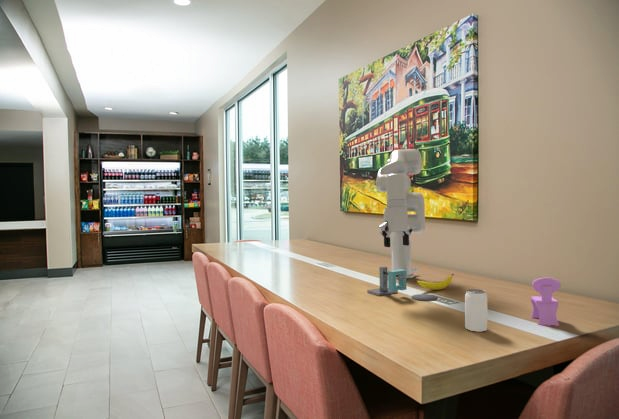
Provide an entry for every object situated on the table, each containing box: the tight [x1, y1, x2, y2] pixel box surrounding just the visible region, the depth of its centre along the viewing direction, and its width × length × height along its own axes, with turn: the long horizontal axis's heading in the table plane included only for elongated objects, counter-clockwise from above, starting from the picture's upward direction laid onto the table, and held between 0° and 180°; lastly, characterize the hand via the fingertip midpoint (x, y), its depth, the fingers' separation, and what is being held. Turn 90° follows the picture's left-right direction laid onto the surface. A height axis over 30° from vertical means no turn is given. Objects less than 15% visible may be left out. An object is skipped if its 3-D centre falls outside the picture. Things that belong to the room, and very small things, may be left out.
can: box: [464, 288, 488, 333], centre depth 138 cm, size 6×6×12 cm
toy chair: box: [530, 276, 561, 327], centre depth 144 cm, size 8×9×15 cm
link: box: [387, 269, 407, 292], centre depth 181 cm, size 7×3×8 cm, turn 119°
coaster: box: [411, 293, 438, 302], centre depth 179 cm, size 10×10×1 cm
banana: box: [416, 273, 455, 291], centre depth 193 cm, size 3×19×6 cm, turn 111°
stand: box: [366, 265, 405, 297], centre depth 186 cm, size 10×18×11 cm, turn 28°
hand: (396, 246), depth 180 cm, fingers open, 9 cm apart
